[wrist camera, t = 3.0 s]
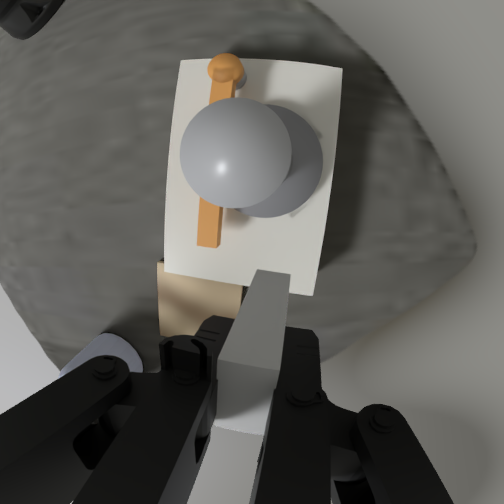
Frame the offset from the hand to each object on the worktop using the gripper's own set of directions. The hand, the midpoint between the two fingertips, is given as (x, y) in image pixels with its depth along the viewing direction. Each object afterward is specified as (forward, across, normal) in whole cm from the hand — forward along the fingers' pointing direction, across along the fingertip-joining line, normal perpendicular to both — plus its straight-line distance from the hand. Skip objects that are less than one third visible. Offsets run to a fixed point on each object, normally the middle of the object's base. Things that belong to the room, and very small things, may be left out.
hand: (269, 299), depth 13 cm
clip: (+10, -6, +7) cm, 13 cm away
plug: (+17, -2, +6) cm, 18 cm away
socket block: (+17, -4, +5) cm, 18 cm away
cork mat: (+17, -9, -11) cm, 22 cm away
